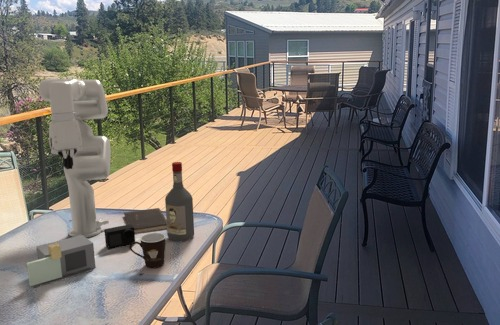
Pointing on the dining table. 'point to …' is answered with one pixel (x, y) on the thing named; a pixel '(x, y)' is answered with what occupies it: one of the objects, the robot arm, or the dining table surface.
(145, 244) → the coffee mug
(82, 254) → the box
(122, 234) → the digital camera
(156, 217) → the hardcover book
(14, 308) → the dining table surface
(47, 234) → the dining table surface
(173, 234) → the liquor
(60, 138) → the robot arm
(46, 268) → the side door
